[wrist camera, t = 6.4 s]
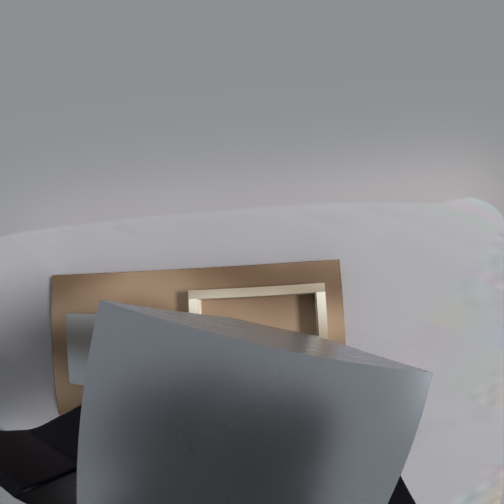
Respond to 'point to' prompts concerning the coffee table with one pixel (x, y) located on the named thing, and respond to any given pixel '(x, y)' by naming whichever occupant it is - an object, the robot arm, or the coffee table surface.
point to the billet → (238, 414)
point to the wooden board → (193, 305)
